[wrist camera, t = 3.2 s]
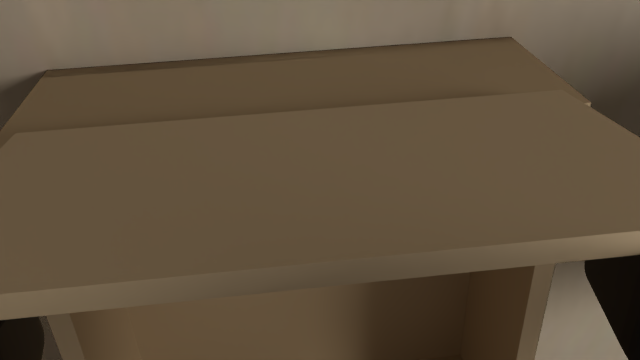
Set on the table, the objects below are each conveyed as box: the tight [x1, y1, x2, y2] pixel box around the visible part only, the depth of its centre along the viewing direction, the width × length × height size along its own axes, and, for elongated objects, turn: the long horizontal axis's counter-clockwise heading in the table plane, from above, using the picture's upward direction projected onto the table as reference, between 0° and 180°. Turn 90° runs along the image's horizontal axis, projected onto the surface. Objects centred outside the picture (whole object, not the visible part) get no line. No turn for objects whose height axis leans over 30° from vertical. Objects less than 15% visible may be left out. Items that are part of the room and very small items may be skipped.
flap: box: [0, 90, 640, 320], centre depth 11 cm, size 12×6×1 cm
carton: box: [0, 37, 591, 360], centre depth 19 cm, size 14×14×5 cm
